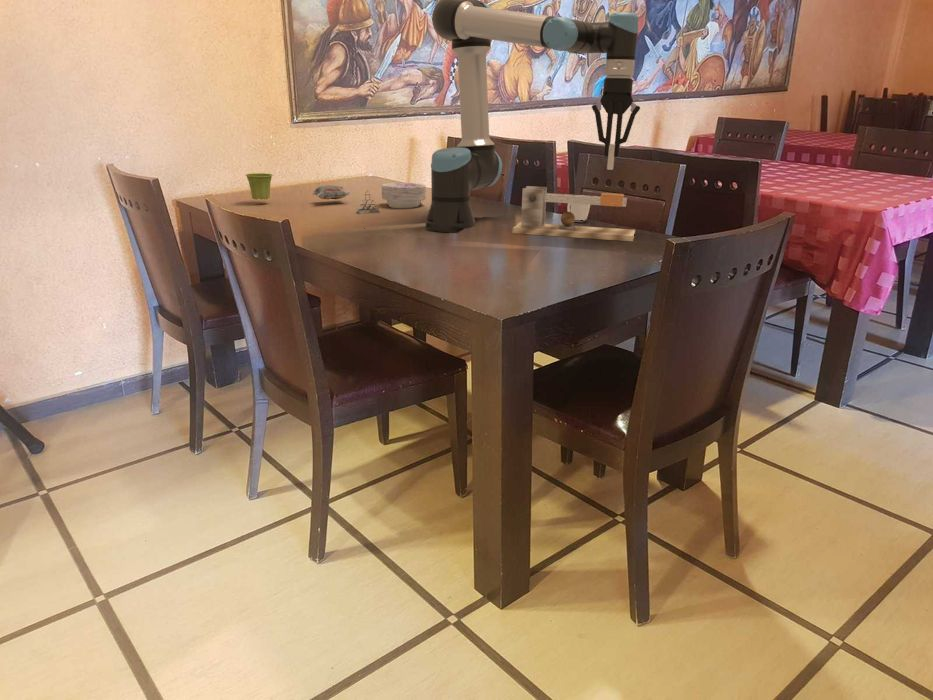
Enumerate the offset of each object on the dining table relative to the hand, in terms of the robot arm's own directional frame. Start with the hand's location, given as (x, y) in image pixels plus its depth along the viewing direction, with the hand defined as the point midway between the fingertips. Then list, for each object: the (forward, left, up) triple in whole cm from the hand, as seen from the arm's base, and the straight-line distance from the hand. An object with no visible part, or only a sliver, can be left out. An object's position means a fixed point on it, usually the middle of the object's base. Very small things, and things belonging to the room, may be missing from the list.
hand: (610, 169), depth 191 cm
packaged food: (-104, +31, -20) cm, 110 cm away
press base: (-9, 0, -19) cm, 21 cm away
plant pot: (-128, +28, -19) cm, 132 cm away
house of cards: (-80, +17, -19) cm, 84 cm away
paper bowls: (-72, +28, -19) cm, 79 cm away
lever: (-21, 0, -9) cm, 22 cm away
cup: (-11, +22, -19) cm, 31 cm away
